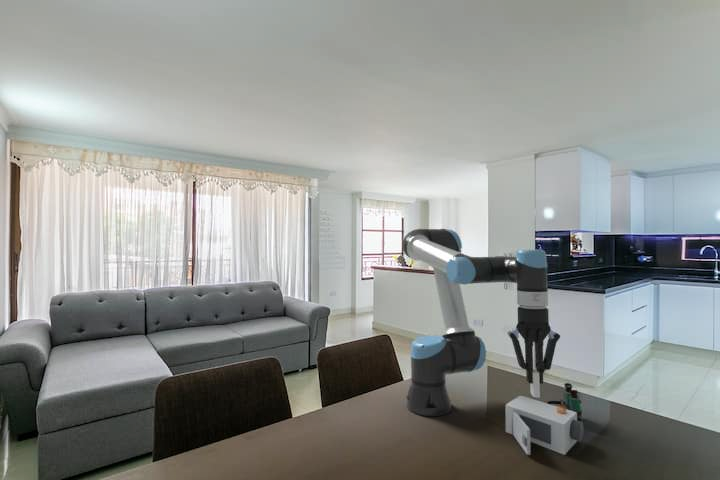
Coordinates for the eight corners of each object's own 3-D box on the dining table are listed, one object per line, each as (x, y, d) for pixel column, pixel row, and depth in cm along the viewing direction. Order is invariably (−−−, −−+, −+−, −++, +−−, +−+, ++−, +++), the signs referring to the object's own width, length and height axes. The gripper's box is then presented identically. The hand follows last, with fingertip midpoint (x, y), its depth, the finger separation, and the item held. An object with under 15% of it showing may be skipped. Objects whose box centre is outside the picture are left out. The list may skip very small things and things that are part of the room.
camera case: (505, 432, 107) (505, 402, 107) (520, 420, 114) (520, 392, 114) (572, 458, 94) (572, 424, 94) (585, 443, 101) (584, 412, 101)
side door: (509, 433, 105) (509, 410, 105) (515, 433, 105) (515, 410, 105) (525, 454, 94) (524, 429, 94) (531, 454, 94) (530, 429, 94)
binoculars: (540, 382, 120) (573, 381, 118) (544, 414, 120) (577, 414, 118) (549, 393, 112) (584, 392, 110) (553, 427, 111) (589, 427, 109)
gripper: (511, 308, 94) (513, 400, 94) (564, 309, 93) (567, 402, 92) (503, 304, 102) (506, 389, 101) (552, 304, 100) (555, 391, 99)
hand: (535, 395), depth 96 cm, fingers closed
